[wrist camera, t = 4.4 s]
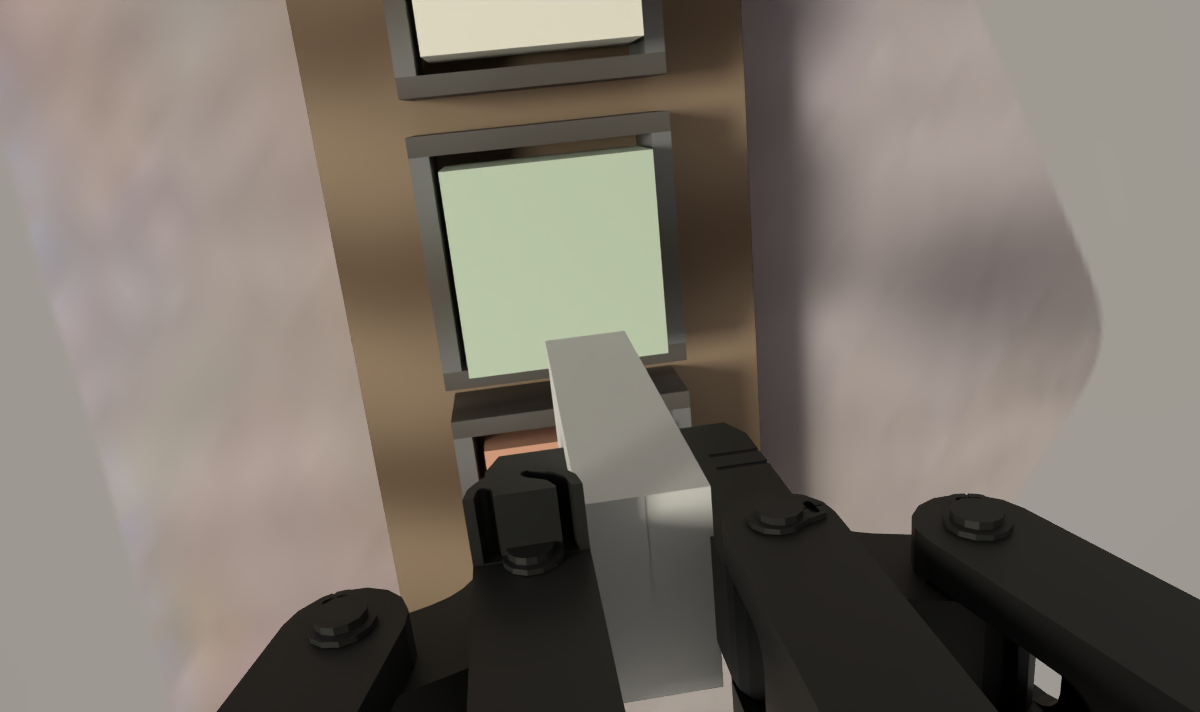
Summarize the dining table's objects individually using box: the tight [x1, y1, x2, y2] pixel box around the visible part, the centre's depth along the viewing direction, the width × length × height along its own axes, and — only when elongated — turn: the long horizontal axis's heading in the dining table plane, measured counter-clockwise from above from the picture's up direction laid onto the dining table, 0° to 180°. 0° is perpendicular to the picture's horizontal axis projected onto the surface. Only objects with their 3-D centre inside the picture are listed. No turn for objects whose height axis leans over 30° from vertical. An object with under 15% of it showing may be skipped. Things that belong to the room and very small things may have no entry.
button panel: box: [286, 0, 761, 613], centre depth 24 cm, size 23×12×5 cm, turn 6°
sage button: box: [438, 145, 668, 379], centre depth 21 cm, size 5×5×2 cm
